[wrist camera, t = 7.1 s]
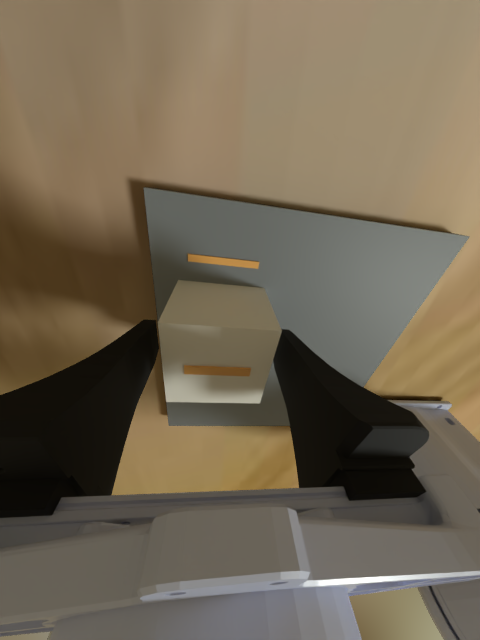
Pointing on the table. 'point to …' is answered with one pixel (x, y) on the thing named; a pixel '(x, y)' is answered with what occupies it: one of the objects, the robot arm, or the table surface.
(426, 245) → the plate
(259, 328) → the white drawer cabinet
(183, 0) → the table surface
